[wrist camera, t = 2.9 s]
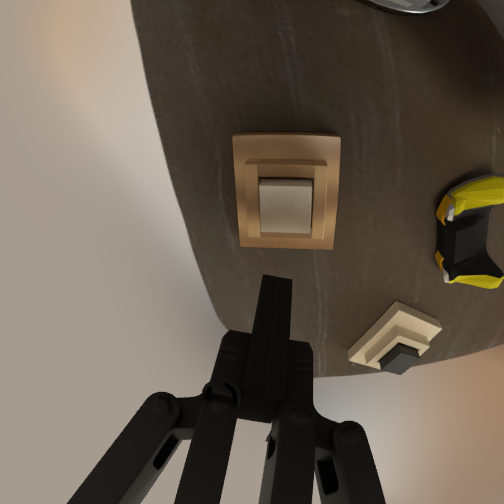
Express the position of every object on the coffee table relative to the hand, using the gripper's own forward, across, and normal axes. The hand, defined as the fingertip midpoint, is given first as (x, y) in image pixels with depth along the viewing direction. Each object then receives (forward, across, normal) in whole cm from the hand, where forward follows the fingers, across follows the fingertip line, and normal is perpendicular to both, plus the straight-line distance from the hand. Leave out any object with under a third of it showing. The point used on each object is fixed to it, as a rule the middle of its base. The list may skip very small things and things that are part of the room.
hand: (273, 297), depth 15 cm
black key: (+13, +21, -19) cm, 31 cm away
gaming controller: (+17, +23, +1) cm, 29 cm away
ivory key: (+13, 0, 0) cm, 13 cm away
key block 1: (+17, 0, 0) cm, 17 cm away
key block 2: (+17, +21, -19) cm, 33 cm away
